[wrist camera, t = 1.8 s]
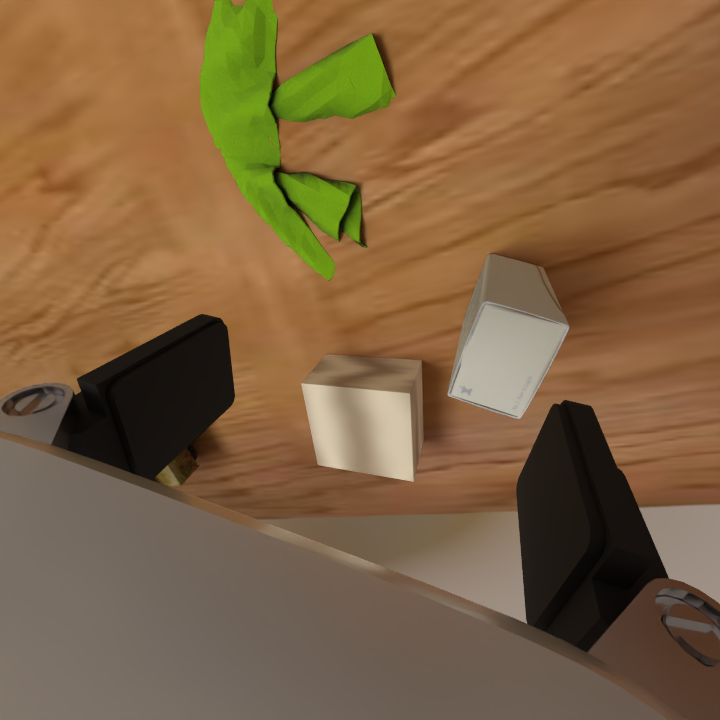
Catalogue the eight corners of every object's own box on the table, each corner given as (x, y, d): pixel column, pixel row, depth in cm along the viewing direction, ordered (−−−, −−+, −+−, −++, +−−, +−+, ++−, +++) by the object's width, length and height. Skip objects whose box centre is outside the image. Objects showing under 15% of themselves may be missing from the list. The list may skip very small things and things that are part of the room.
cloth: (191, -40, 25) (165, -57, 23) (502, -11, 21) (502, -29, 19) (211, 247, 36) (194, 252, 34) (419, 303, 32) (414, 313, 30)
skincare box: (512, 335, 30) (521, 425, 20) (460, 320, 31) (444, 399, 21) (545, 263, 27) (576, 327, 17) (486, 248, 28) (482, 300, 17)
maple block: (422, 359, 34) (409, 393, 29) (423, 440, 39) (413, 481, 34) (326, 353, 37) (301, 383, 32) (338, 428, 42) (318, 464, 37)
